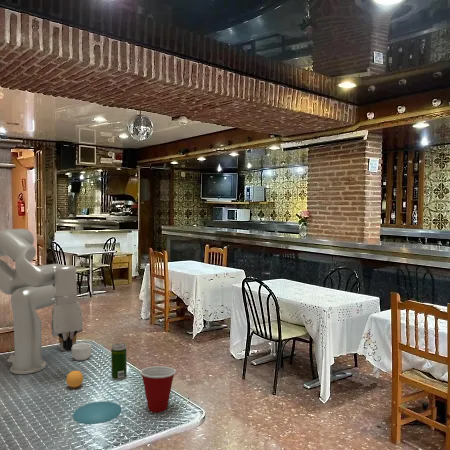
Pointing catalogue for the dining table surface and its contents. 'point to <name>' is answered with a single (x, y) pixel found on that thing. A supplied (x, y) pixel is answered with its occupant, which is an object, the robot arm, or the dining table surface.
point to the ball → (74, 378)
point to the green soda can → (119, 361)
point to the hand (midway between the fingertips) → (67, 349)
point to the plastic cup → (157, 386)
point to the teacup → (81, 351)
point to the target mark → (97, 412)
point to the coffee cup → (62, 342)
